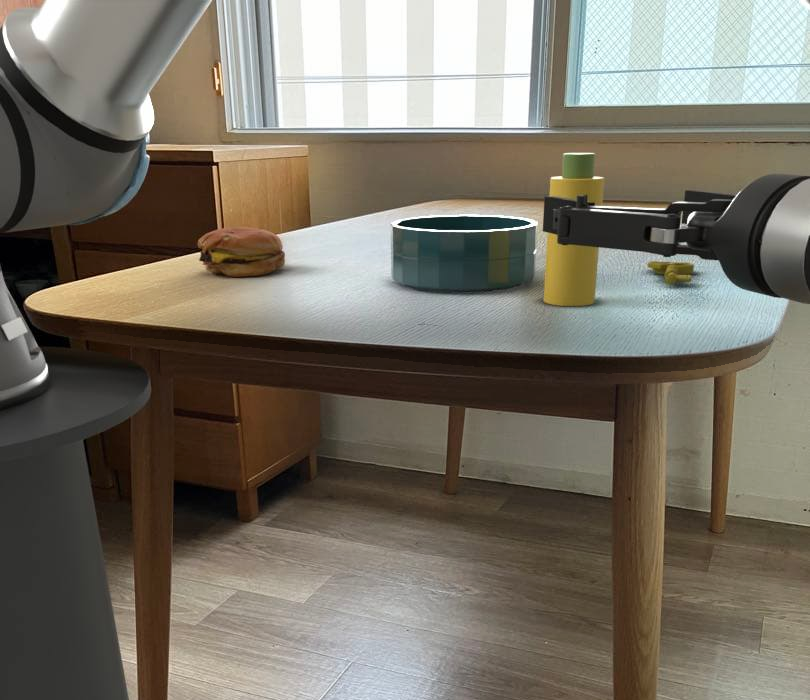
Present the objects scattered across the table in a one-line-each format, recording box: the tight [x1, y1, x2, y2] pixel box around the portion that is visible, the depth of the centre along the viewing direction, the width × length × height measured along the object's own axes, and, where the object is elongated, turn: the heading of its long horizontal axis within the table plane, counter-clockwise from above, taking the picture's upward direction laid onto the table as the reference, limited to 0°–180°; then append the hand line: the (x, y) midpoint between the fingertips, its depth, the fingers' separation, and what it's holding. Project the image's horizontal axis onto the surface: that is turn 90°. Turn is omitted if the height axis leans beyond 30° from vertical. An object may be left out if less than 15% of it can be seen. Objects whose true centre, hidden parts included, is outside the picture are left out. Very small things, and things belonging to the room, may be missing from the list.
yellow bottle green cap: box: [543, 152, 605, 307], centre depth 82 cm, size 5×5×13 cm
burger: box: [196, 226, 286, 278], centre depth 102 cm, size 10×9×5 cm
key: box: [646, 260, 695, 286], centre depth 96 cm, size 12×1×5 cm
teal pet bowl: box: [390, 214, 538, 294], centre depth 94 cm, size 15×15×6 cm
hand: (618, 210), depth 75 cm, fingers open, 13 cm apart
